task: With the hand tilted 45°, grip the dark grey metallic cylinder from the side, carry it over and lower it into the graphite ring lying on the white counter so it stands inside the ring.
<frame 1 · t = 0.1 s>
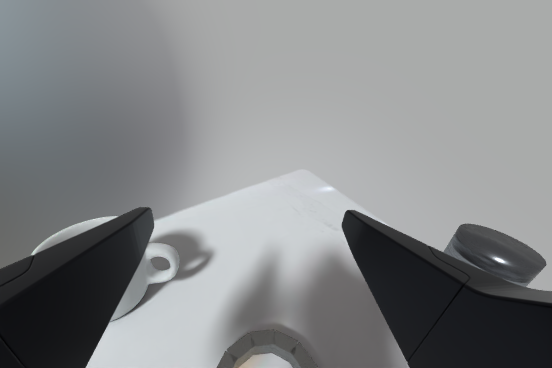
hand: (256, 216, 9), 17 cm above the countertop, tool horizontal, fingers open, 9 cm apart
cup: (130, 297, 22), on the countertop
dark grey metallic cylinder: (427, 335, 21), on the countertop
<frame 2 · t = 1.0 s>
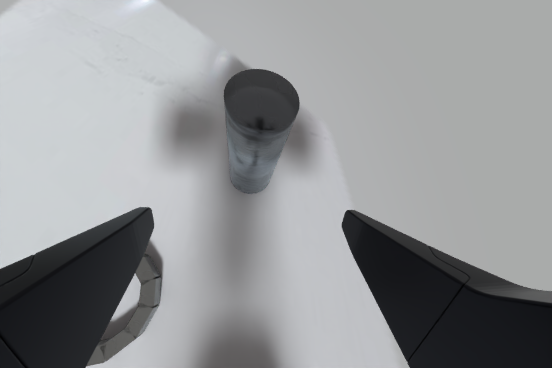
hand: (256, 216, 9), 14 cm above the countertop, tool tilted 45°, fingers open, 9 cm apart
ring: (107, 298, 18), on the countertop
dark grey metallic cylinder: (250, 174, 25), on the countertop
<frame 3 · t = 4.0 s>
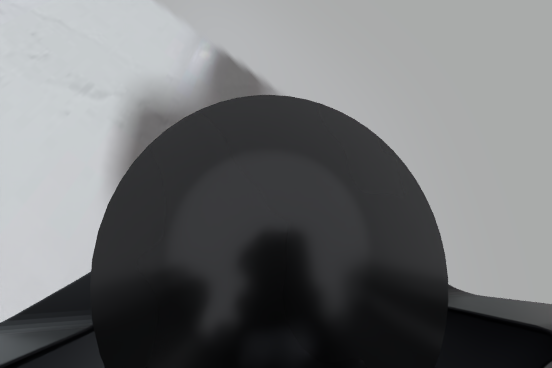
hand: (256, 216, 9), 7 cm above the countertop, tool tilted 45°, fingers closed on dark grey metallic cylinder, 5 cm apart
dark grey metallic cylinder: (248, 251, 15), on the countertop, touching gripper
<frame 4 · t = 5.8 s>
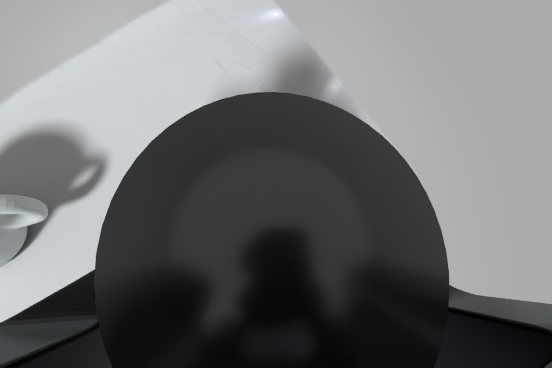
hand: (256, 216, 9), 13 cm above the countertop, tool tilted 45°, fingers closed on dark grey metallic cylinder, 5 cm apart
cup: (12, 234, 18), on the countertop
dark grey metallic cylinder: (248, 250, 15), point 7 cm above the countertop, touching gripper
when the fingers open (8 cm above the countertop, at t = 7.9 s): dark grey metallic cylinder drops 2 cm, resting in ring.
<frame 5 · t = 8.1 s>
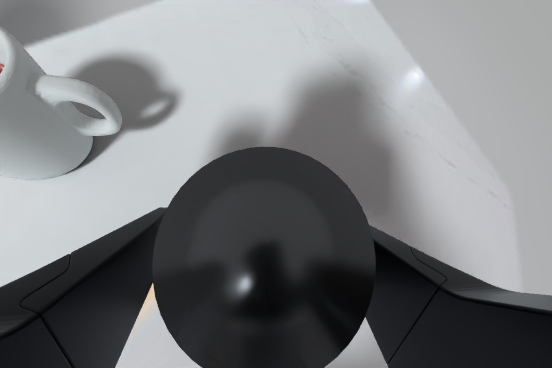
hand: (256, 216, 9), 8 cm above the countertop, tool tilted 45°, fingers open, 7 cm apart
cup: (75, 148, 17), on the countertop
dark grey metallic cylinder: (247, 252, 16), resting in ring
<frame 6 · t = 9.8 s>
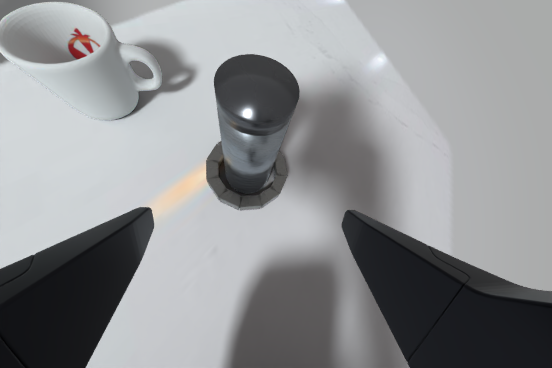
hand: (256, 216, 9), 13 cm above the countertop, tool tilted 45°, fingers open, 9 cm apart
cup: (126, 103, 24), on the countertop
ring: (247, 173, 24), on the countertop
dark grey metallic cylinder: (247, 173, 24), resting in ring
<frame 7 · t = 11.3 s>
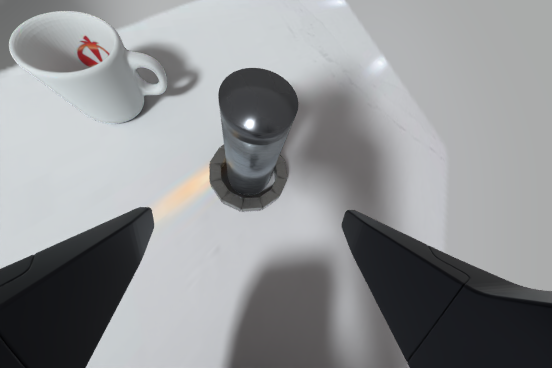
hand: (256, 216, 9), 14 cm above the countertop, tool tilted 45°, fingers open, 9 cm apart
cup: (131, 106, 25), on the countertop
ring: (248, 175, 24), on the countertop
dark grey metallic cylinder: (248, 176, 24), resting in ring
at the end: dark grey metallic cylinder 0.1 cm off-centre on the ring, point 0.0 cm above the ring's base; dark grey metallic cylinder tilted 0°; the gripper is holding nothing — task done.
